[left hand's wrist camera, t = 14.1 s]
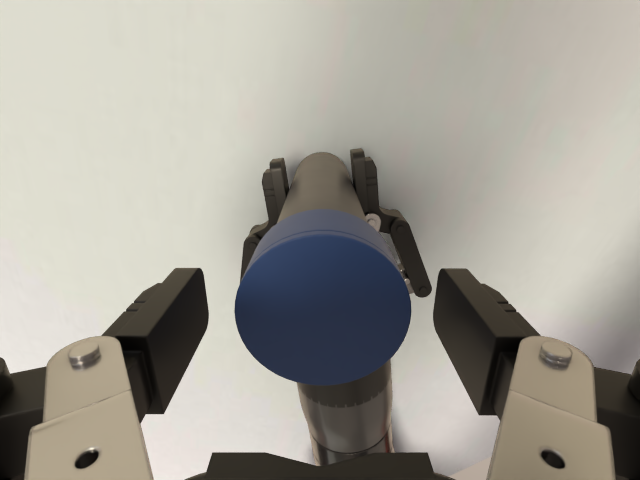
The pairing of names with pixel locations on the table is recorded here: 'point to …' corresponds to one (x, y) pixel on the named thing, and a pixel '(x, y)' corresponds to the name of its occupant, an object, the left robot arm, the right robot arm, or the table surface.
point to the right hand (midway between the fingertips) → (316, 156)
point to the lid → (322, 299)
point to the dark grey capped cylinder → (321, 187)
